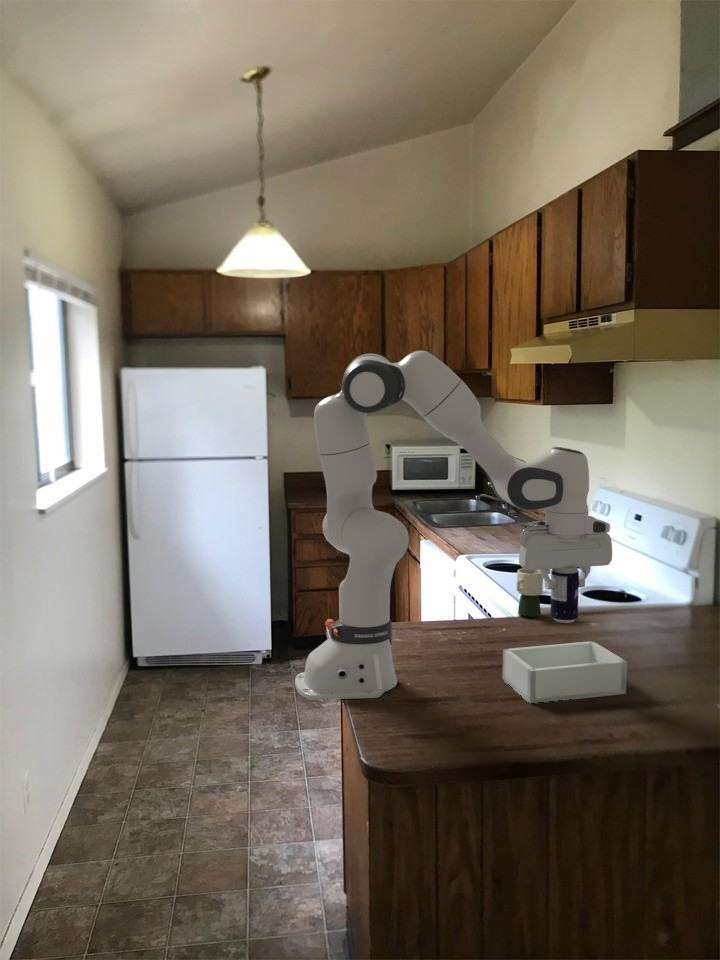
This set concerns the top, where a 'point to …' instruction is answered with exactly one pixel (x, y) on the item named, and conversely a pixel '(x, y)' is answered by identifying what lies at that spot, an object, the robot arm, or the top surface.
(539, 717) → the top surface
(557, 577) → the beverage can
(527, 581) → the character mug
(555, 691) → the crate
